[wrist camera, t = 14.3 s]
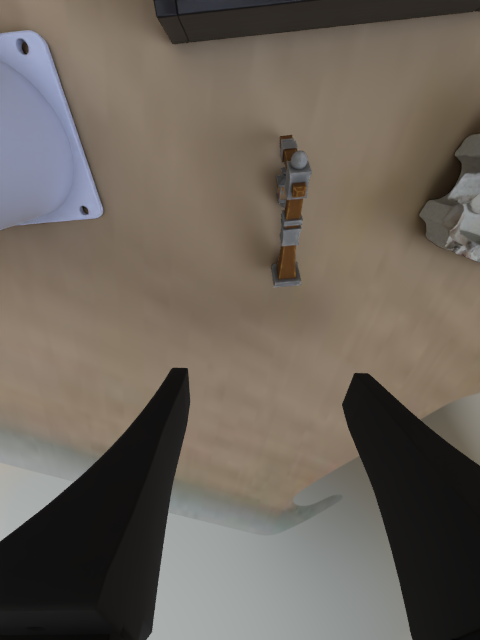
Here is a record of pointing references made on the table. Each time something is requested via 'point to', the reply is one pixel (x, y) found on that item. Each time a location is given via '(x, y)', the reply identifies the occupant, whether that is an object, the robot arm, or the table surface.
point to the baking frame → (287, 15)
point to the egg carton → (459, 207)
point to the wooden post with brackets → (290, 210)
